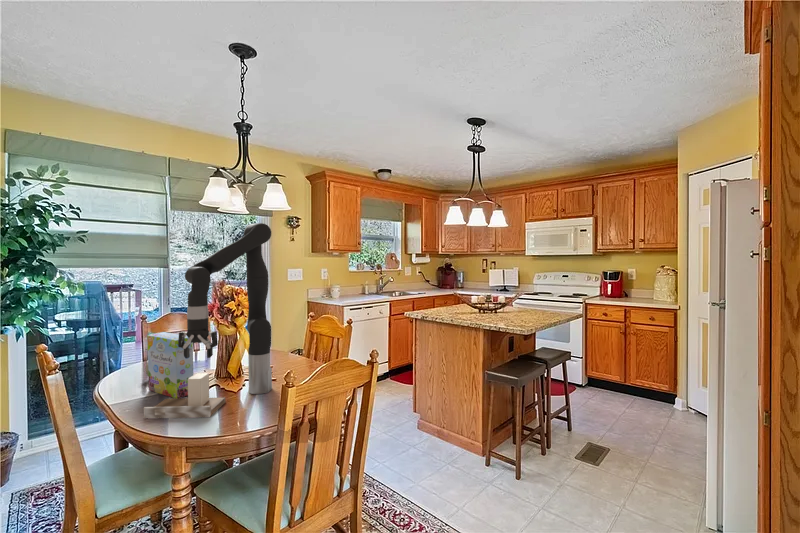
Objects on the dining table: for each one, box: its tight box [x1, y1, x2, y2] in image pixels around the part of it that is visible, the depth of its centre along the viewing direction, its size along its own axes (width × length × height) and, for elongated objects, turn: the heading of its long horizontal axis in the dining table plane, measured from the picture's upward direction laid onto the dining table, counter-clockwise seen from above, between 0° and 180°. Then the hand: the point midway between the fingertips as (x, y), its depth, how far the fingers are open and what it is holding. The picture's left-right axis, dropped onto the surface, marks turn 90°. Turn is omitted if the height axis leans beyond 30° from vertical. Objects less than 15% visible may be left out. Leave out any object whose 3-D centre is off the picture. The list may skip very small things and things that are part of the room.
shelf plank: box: [143, 397, 226, 419], centre depth 152 cm, size 24×15×4 cm, turn 93°
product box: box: [187, 372, 210, 406], centre depth 154 cm, size 5×7×11 cm
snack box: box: [146, 331, 194, 398], centre depth 172 cm, size 22×9×26 cm, turn 62°
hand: (198, 357), depth 154 cm, fingers open, 8 cm apart
